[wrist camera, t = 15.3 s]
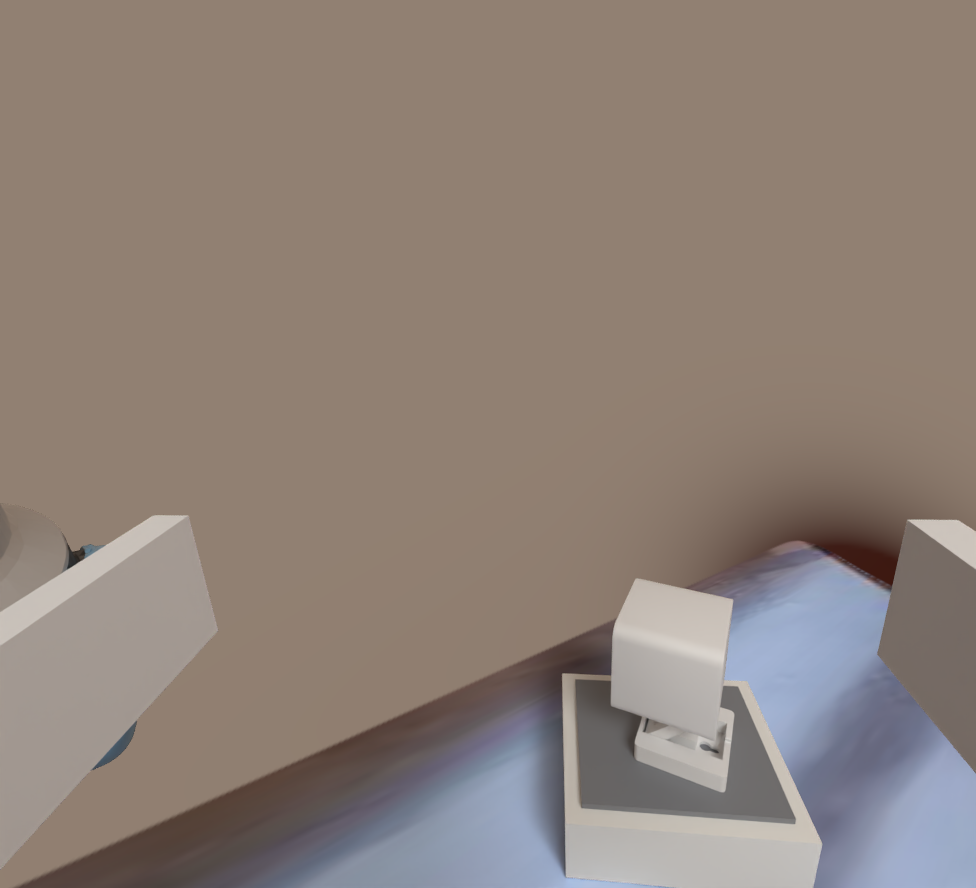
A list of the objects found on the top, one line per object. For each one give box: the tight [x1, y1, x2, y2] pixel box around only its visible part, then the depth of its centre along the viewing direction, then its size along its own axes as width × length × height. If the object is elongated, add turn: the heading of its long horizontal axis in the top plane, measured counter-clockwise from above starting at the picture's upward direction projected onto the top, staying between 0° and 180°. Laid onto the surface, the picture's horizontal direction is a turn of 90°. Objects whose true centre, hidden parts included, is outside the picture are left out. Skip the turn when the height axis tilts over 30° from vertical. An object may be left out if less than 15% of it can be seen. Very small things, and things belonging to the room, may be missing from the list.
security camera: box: [611, 578, 734, 792], centre depth 34 cm, size 6×7×10 cm
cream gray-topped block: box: [562, 673, 822, 888], centre depth 36 cm, size 14×12×5 cm
